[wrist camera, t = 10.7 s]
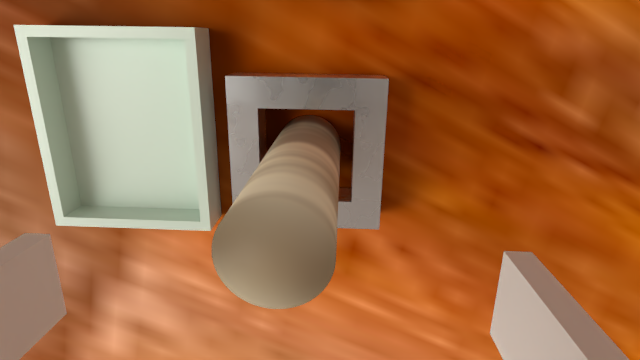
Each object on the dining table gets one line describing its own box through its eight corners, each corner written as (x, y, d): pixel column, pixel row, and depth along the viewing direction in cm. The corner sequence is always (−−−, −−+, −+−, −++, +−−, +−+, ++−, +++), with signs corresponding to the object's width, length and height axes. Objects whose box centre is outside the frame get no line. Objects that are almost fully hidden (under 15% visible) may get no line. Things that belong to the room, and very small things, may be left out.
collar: (235, 72, 25) (224, 75, 23) (384, 74, 25) (388, 78, 22) (243, 208, 28) (233, 224, 26) (375, 213, 28) (379, 229, 25)
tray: (44, 26, 25) (13, 24, 22) (208, 28, 24) (194, 27, 22) (79, 210, 29) (56, 225, 26) (221, 214, 28) (210, 230, 26)
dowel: (277, 114, 26) (207, 195, 13) (341, 115, 26) (338, 201, 12) (278, 174, 27) (215, 305, 14) (339, 176, 27) (333, 312, 14)
